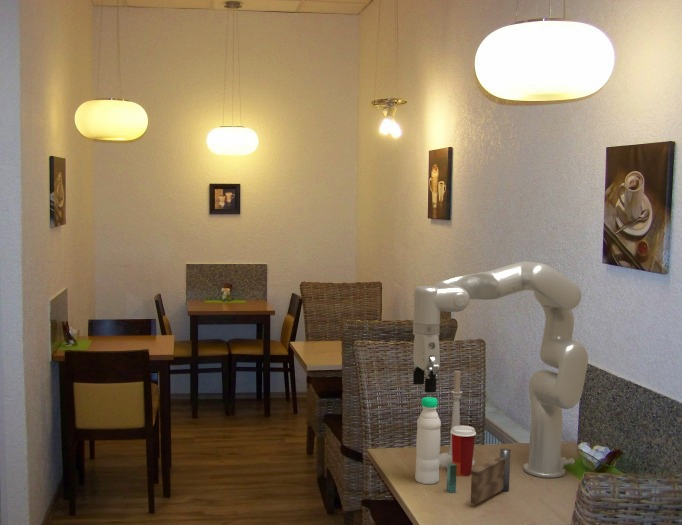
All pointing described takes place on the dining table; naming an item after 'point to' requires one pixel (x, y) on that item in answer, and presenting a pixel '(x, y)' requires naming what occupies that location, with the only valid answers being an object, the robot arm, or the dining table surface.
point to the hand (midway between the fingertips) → (424, 388)
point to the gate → (487, 480)
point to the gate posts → (453, 470)
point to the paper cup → (463, 448)
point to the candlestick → (453, 420)
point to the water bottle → (428, 443)
